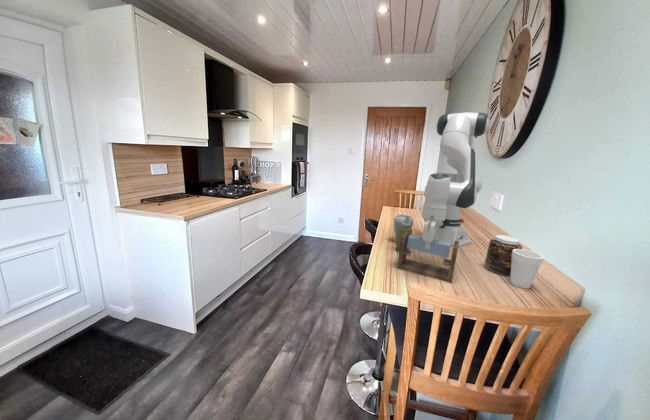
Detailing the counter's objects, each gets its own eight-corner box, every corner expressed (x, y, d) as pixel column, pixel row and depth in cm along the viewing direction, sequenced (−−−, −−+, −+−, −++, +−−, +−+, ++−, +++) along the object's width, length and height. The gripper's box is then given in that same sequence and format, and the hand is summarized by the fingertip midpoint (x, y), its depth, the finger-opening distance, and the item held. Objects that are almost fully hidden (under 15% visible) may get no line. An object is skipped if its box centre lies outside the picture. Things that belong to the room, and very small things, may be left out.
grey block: (449, 254, 102) (451, 242, 101) (448, 257, 98) (450, 245, 97) (409, 245, 110) (410, 234, 109) (406, 248, 106) (408, 237, 105)
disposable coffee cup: (414, 246, 135) (418, 219, 131) (395, 246, 133) (398, 218, 130) (405, 239, 145) (408, 214, 141) (387, 239, 143) (390, 213, 140)
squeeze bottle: (410, 248, 130) (415, 215, 126) (411, 254, 122) (416, 219, 118) (394, 246, 132) (398, 213, 128) (394, 252, 124) (399, 217, 120)
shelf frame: (453, 272, 105) (458, 241, 102) (451, 282, 97) (457, 249, 94) (402, 260, 115) (406, 231, 112) (396, 268, 107) (400, 237, 104)
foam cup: (509, 276, 105) (516, 247, 102) (537, 285, 99) (545, 254, 96) (502, 282, 99) (510, 252, 96) (532, 293, 93) (540, 260, 90)
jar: (515, 269, 112) (522, 237, 109) (517, 279, 103) (525, 245, 99) (484, 262, 119) (490, 232, 115) (483, 270, 109) (490, 238, 106)
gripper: (439, 220, 90) (433, 256, 93) (444, 211, 108) (439, 241, 111) (421, 217, 93) (416, 252, 96) (428, 208, 111) (424, 238, 114)
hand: (428, 246), depth 104 cm, fingers closed on grey block, 4 cm apart
